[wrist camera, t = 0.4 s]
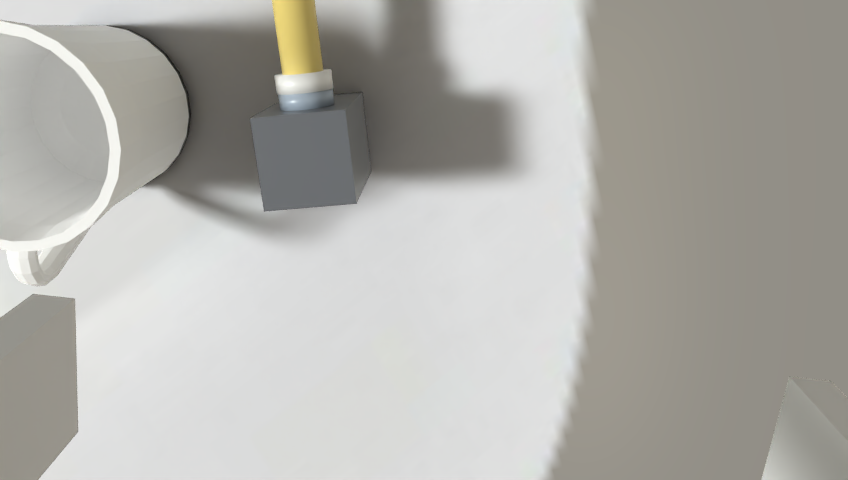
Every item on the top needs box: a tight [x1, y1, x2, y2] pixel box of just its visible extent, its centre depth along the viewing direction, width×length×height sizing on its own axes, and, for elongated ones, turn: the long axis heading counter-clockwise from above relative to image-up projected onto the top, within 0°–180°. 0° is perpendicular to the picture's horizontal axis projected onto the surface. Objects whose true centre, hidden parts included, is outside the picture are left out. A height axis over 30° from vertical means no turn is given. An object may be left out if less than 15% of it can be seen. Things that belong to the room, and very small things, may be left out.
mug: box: [0, 20, 191, 286], centre depth 36 cm, size 11×9×10 cm
